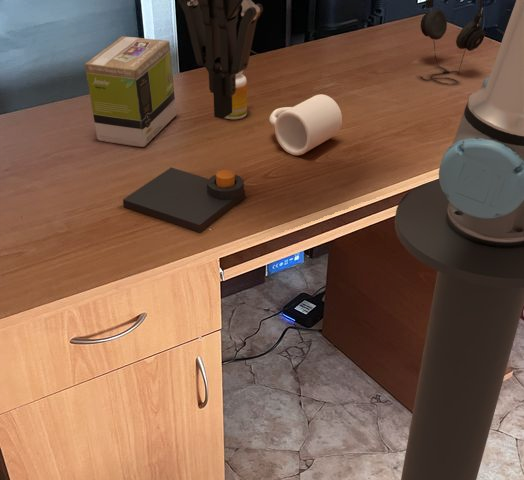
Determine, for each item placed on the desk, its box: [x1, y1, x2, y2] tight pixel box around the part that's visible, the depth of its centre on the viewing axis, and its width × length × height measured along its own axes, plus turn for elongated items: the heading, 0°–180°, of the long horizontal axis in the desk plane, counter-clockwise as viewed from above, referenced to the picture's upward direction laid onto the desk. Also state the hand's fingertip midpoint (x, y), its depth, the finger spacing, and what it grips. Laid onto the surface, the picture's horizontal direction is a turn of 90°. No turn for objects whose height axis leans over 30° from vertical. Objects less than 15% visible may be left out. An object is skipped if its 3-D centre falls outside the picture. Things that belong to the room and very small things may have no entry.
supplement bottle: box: [224, 70, 248, 120], centre depth 151 cm, size 5×5×10 cm
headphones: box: [420, 0, 486, 85], centre depth 165 cm, size 15×11×20 cm
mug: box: [269, 93, 343, 156], centre depth 142 cm, size 12×10×8 cm
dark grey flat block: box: [122, 167, 246, 233], centre depth 127 cm, size 15×14×3 cm
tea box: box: [85, 35, 177, 148], centre depth 144 cm, size 15×10×15 cm, turn 161°
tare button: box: [215, 169, 236, 187], centre depth 127 cm, size 3×3×2 cm
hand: (223, 114), depth 120 cm, fingers closed
